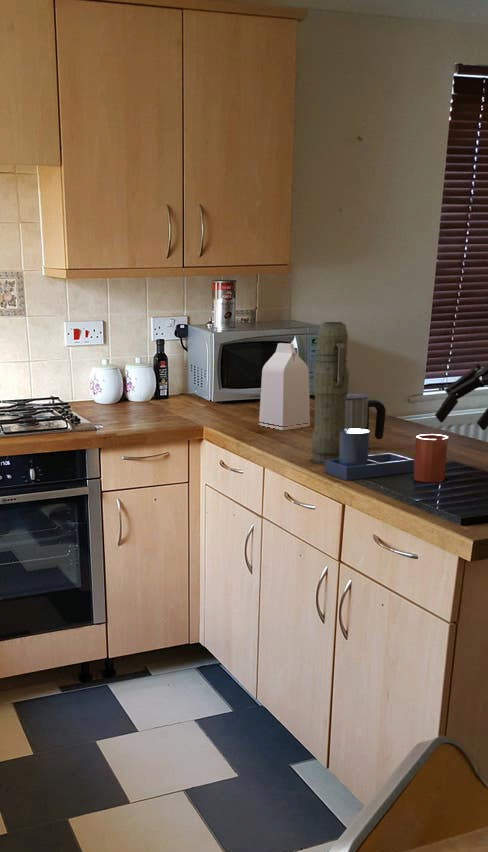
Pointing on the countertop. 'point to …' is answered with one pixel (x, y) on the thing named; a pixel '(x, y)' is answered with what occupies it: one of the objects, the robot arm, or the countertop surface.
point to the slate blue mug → (353, 447)
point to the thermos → (330, 390)
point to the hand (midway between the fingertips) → (458, 422)
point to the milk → (285, 390)
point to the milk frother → (364, 413)
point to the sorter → (371, 467)
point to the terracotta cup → (430, 458)
